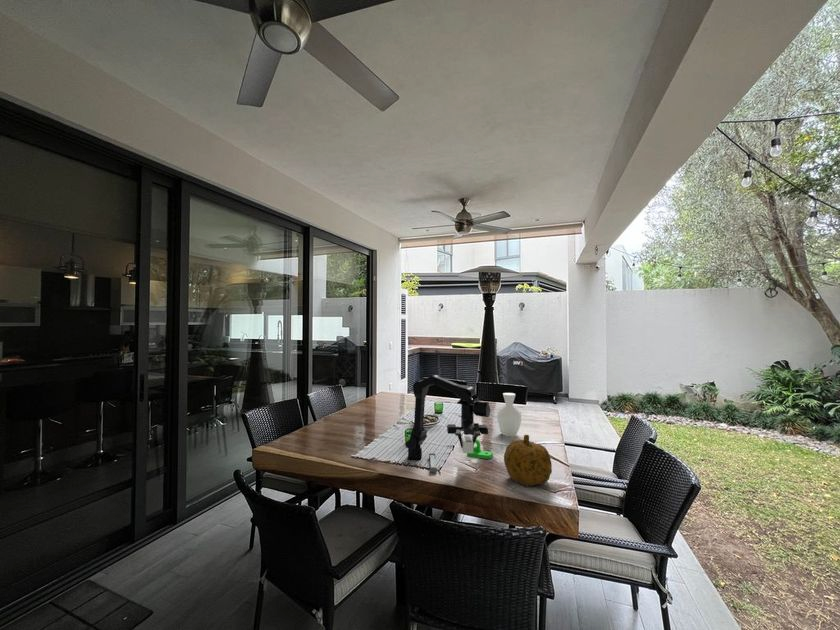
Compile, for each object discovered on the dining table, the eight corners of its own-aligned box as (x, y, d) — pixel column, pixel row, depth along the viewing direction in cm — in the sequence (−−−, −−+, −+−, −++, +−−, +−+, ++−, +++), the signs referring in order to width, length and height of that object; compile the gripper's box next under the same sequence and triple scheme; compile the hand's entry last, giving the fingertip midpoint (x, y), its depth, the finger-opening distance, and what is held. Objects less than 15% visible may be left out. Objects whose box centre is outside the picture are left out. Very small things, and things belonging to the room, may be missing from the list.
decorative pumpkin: (505, 490, 145) (505, 441, 146) (502, 469, 166) (502, 426, 166) (556, 494, 142) (556, 444, 142) (547, 473, 162) (547, 429, 163)
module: (463, 453, 161) (463, 441, 161) (461, 446, 169) (461, 435, 169) (473, 453, 161) (473, 441, 161) (470, 446, 169) (470, 435, 169)
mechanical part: (467, 456, 182) (467, 441, 183) (470, 452, 188) (470, 437, 188) (490, 460, 178) (490, 444, 178) (492, 456, 183) (492, 440, 183)
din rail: (430, 474, 160) (430, 468, 160) (429, 458, 178) (429, 453, 178) (436, 474, 160) (436, 468, 160) (435, 458, 178) (435, 453, 178)
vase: (496, 437, 213) (496, 395, 214) (498, 430, 227) (498, 391, 227) (521, 439, 209) (520, 397, 209) (521, 432, 222) (521, 392, 223)
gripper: (448, 418, 157) (448, 453, 157) (490, 419, 157) (490, 454, 157) (447, 412, 168) (446, 444, 168) (486, 412, 168) (485, 445, 168)
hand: (467, 447), depth 165 cm, fingers closed on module, 5 cm apart
